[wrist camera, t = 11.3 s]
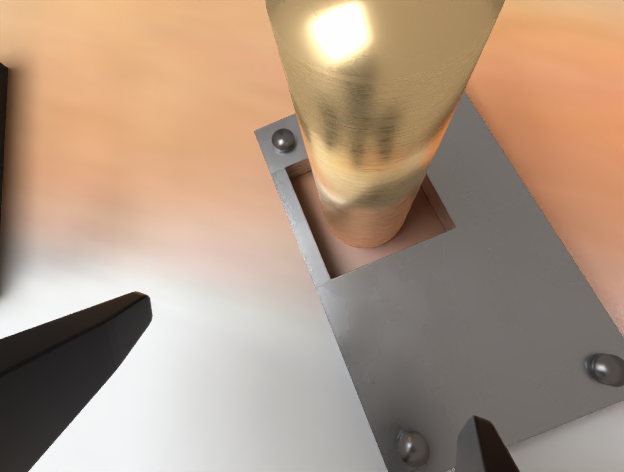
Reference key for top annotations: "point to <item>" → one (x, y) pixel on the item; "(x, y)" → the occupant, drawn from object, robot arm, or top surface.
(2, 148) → the portable cd player
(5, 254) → the top surface
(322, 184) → the disc
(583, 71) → the top surface
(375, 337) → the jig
